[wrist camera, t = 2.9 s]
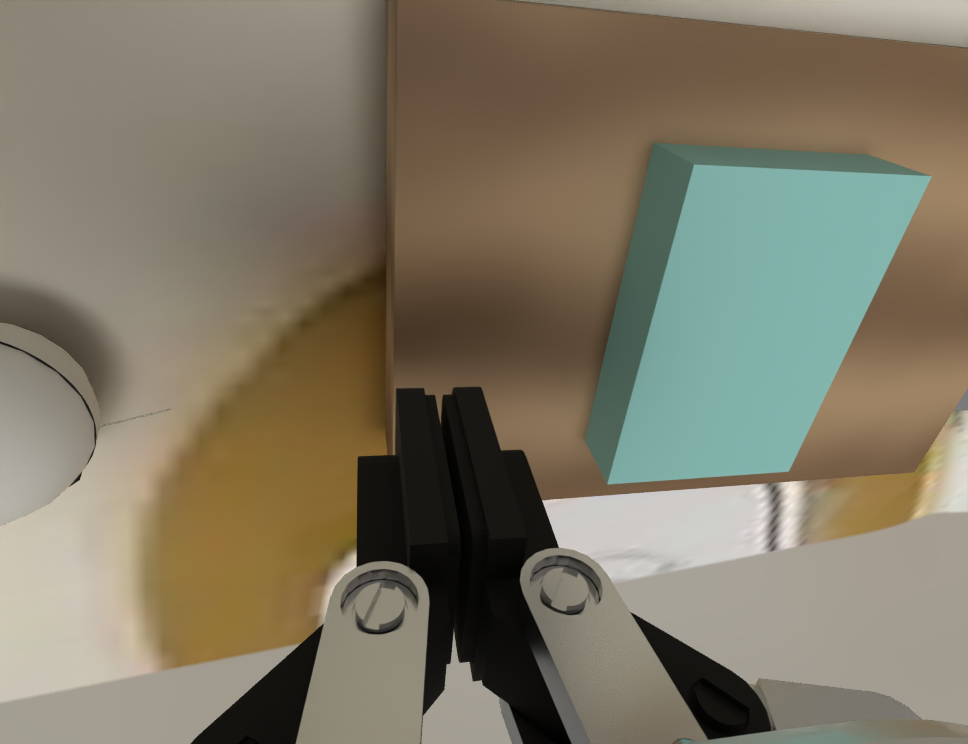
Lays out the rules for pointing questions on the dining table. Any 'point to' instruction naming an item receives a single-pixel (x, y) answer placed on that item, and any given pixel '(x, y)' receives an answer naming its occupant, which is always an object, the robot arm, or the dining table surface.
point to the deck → (614, 205)
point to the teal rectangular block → (740, 305)
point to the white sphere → (42, 421)
